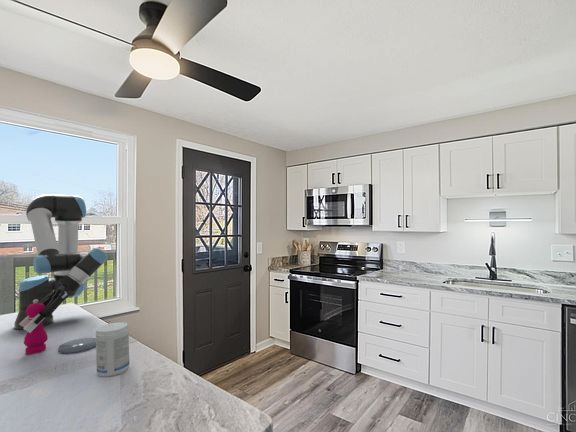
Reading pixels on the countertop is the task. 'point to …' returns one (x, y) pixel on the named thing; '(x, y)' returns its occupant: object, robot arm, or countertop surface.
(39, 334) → the pepper mill
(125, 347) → the supplement tub
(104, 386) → the countertop surface
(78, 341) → the saucer
